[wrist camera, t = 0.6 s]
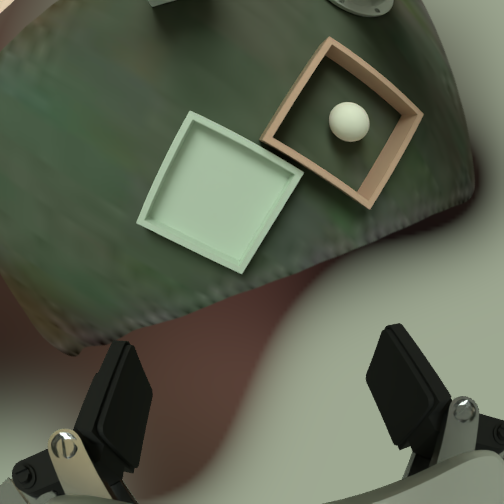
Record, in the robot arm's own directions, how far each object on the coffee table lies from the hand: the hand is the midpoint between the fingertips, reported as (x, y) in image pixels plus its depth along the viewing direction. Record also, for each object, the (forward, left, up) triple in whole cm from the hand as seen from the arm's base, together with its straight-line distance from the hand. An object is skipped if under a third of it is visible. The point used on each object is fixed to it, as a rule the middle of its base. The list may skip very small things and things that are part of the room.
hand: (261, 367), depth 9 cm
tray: (+1, -3, -27) cm, 27 cm away
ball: (-15, +6, -25) cm, 30 cm away
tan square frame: (-15, +6, -27) cm, 32 cm away
